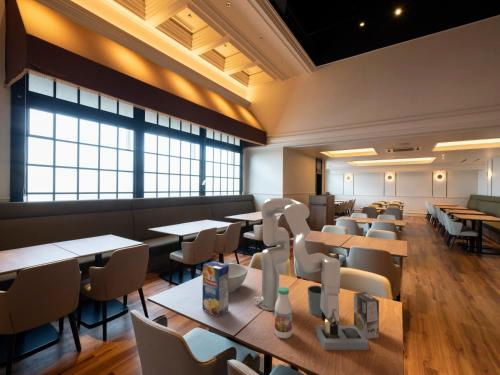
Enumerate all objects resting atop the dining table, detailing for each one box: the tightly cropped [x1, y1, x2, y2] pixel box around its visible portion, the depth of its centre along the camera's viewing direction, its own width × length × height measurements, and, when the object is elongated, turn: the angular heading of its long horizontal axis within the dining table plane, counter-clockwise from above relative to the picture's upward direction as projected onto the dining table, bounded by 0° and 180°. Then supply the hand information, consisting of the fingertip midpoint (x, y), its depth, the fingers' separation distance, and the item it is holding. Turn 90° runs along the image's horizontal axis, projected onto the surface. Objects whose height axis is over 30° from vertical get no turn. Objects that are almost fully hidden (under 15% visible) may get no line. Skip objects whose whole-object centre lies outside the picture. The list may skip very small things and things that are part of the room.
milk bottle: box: [274, 286, 293, 339], centre depth 103 cm, size 8×8×20 cm
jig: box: [315, 325, 370, 351], centre depth 99 cm, size 18×11×4 cm, turn 91°
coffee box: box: [353, 291, 380, 340], centre depth 105 cm, size 9×6×16 cm
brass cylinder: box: [324, 318, 336, 339], centre depth 99 cm, size 4×4×9 cm
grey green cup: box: [307, 284, 322, 317], centre depth 121 cm, size 10×10×12 cm
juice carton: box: [201, 260, 229, 317], centre depth 123 cm, size 12×8×24 cm, turn 55°
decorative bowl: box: [225, 262, 249, 294], centre depth 149 cm, size 27×27×12 cm
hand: (329, 327), depth 99 cm, fingers open, 9 cm apart
